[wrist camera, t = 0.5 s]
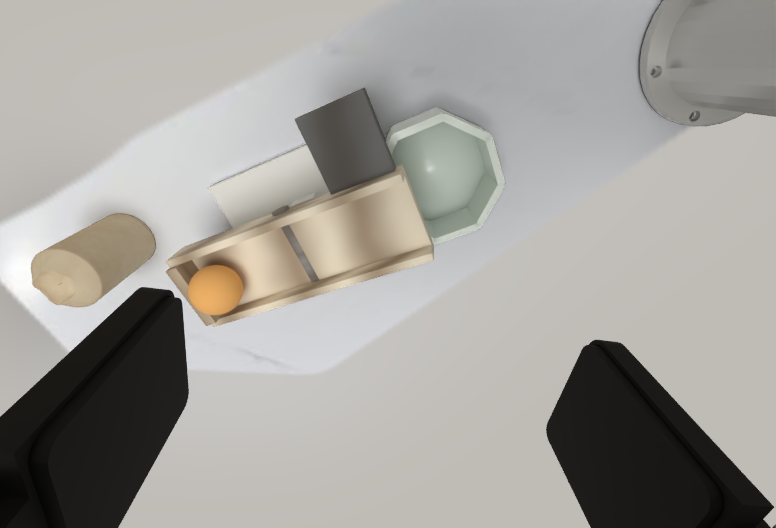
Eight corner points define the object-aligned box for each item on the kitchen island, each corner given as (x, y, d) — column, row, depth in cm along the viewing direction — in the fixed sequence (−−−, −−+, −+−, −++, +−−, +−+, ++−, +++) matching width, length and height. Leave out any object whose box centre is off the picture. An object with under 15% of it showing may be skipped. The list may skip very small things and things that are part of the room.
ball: (235, 250, 31) (205, 277, 28) (260, 290, 33) (235, 320, 30) (198, 262, 33) (166, 289, 29) (224, 299, 34) (197, 329, 31)
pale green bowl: (469, 92, 34) (481, 96, 29) (499, 198, 38) (514, 216, 33) (360, 138, 35) (356, 149, 31) (401, 235, 40) (403, 256, 35)
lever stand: (365, 118, 35) (360, 129, 29) (416, 243, 40) (421, 275, 34) (211, 185, 37) (177, 208, 31) (278, 293, 43) (260, 331, 37)
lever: (372, 84, 26) (364, 88, 23) (434, 246, 31) (434, 266, 28) (142, 186, 31) (112, 200, 28) (228, 310, 36) (211, 333, 33)
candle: (156, 268, 41) (92, 323, 32) (101, 256, 41) (20, 309, 32) (156, 220, 39) (87, 266, 30) (98, 206, 38) (10, 249, 29)
